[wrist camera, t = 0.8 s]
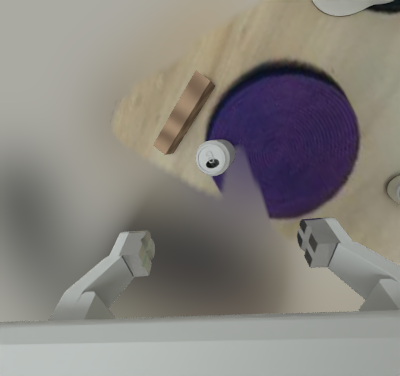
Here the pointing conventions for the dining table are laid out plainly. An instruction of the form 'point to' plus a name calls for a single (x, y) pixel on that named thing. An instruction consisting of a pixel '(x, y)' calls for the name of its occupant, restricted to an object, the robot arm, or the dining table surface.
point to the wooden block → (184, 113)
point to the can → (215, 156)
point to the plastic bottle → (394, 189)
